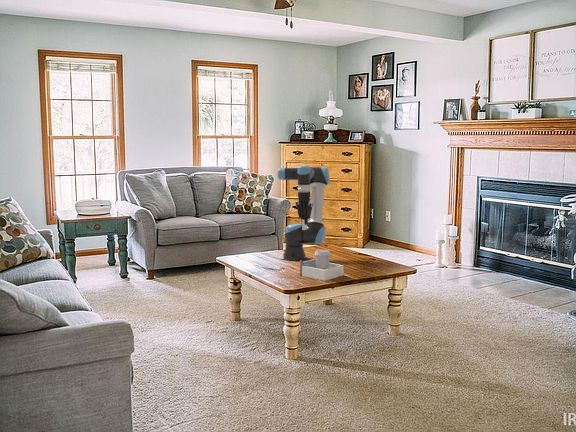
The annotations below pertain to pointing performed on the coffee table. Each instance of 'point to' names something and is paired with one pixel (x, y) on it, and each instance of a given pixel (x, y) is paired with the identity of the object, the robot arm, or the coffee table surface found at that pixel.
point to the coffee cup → (322, 259)
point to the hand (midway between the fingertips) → (304, 229)
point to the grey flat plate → (310, 263)
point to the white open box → (322, 272)
